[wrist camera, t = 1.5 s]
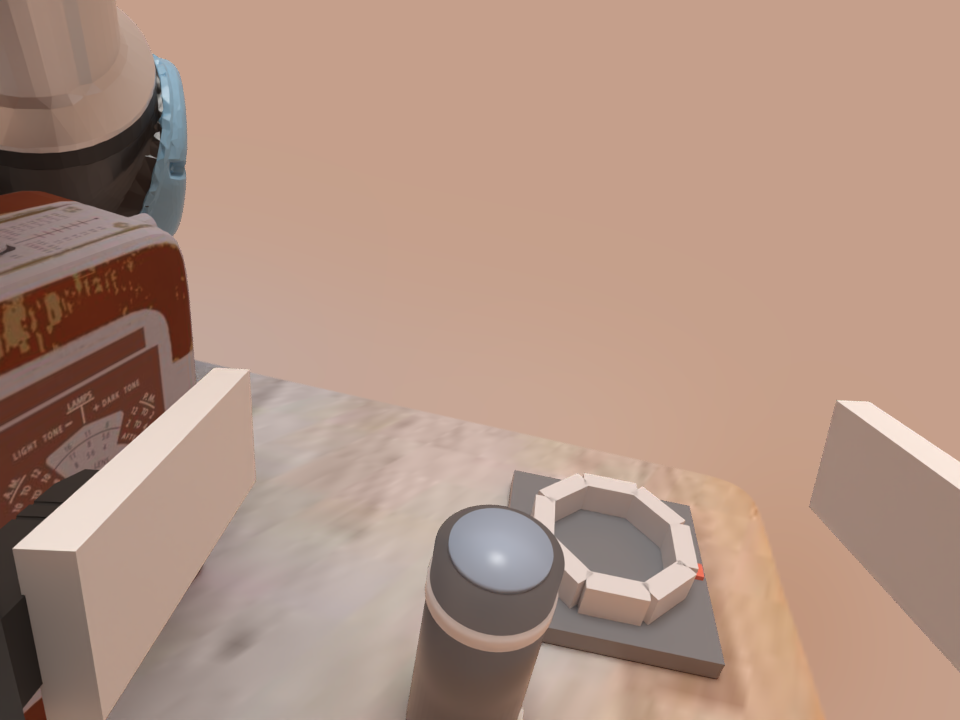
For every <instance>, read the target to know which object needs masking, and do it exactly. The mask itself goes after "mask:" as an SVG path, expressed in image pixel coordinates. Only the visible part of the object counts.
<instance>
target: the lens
mask: <svg viewBox="0 0 960 720" xmlns="http://www.w3.org/2000/svg"><path fill="white" fill-rule="evenodd" d="M564 568H565V560H564V554H563V551H562V548H561V546H560V544H559V542H558V540H557V539H556V537H555V536H554V535H553V533H552V532H551V531H550V530H549V529H548V528H547V527H546V526H545V525H544V524H542V523H541V522H540V521H538V520H537V519H536V518H534V517H532V516H530V515H529V514H526V513H524V512H522V511H519V510H517V509H514V508H510V507H506V506H499V505H479V506H473V507H469V508H466V509H463V510H461V511H459V512H457V513H455V514H453V515H452V516H450V517H449V518H448V519H447V520H446V521H445V522H444V523H443V524H442V526H441V527H440V529H439V531H438V533H437V536H436V540H435V546H434V551H433V557H432V558H431V560H430V563H429V566H428V572H427V578H426V584H425V598H426V599H425V605H424V611H423V617H422V623H421V629H420V635H419V641H418V647H417V653H416V659H415V665H414V671H413V677H412V683H411V689H410V695H409V700H408V706H407V713H406V720H523V713H524V708H521V706H522V703H523V700H524V697H525V694H526V691H527V688H528V684H529V681H530V678H531V675H532V672H533V669H534V665H535V662H536V659H537V656H538V653H539V650H540V647H541V643H542V640H543V637H544V634H545V631H546V630H547V628H548V627H549V625H550V623H551V621H552V617H553V614H554V611H555V608H556V605H557V601H558V590H559V587H560V583H561V580H562V577H563V574H564Z"/></svg>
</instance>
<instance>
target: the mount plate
mask: <svg viewBox="0 0 960 720" xmlns="http://www.w3.org/2000/svg"><path fill="white" fill-rule="evenodd" d="M509 507H510V508H514V509H517V510H519V511H522V512H524V513H526V514H529V515H530V516H532V517H534V518H536V519H537V520H538V521H540V522H541V523H542V524H544V525H545V526H546V527H547V528H548V529H549V530H550V531H551V532H552V533H553V535H554V536H555V537H556V539H557V540H558V542H559V544H560V546H561V548H562V551H563V554H564V560H565V568H564V574H563V577H562V580H561V583H560V587H559V590H558V601H557V605H556V608H555V611H554V614H553V617H552V621H551V623H550V625H549V627H548V628H547V630H546V631H545V634H544V637H543V640H542V642H546V643H550V644H555V645H560V646H564V647H569V648H574V649H579V650H583V651H588V652H593V653H597V654H602V655H607V656H611V657H616V658H621V659H626V660H630V661H635V662H640V663H644V664H649V665H654V666H659V667H663V668H668V669H673V670H677V671H682V672H687V673H692V674H696V675H701V676H706V677H710V678H715V679H717V678H718V676H719V675H720V673H721V671H722V669H723V667H724V666H725V663H724V659H723V654H722V650H721V645H720V641H719V636H718V632H717V627H716V623H715V618H714V614H713V609H712V605H711V601H710V596H709V592H708V587H707V583H706V578H705V574H704V569H703V565H702V560H701V556H700V551H699V547H698V542H697V538H696V534H695V529H694V525H693V520H692V516H691V511H690V507H689V506H687V505H682V504H677V503H672V502H667V501H663V500H659V499H658V498H657V497H655V496H654V495H653V494H652V493H650V492H649V491H648V490H647V489H645V488H644V487H641V488H639V489H637V487H636V483H632V482H627V481H622V480H617V479H613V478H608V477H603V476H598V475H593V474H588V473H584V474H583V477H582V476H580V475H579V474H578V473H577V474H575V475H572V476H570V477H568V478H566V479H563V480H560V479H555V478H550V477H545V476H540V475H536V474H531V473H526V472H521V471H516V470H515V471H514V475H513V479H512V483H511V491H510V499H509Z"/></svg>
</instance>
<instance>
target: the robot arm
mask: <svg viewBox="0 0 960 720" xmlns="http://www.w3.org/2000/svg"><path fill="white" fill-rule="evenodd" d="M186 123H187V122H186V108H185V99H184V92H183V86H182V81H181V78H180V74H179V72H178V70H177V68H176V67H175V66H174V64H172V63H171V62H170V61H168V60H166V59H162V58H158V57H157V56H156V55H154V54H152V52H151V50H150V47H149V45H148V43H147V40H146V38H145V36H144V35H143V33H142V32H141V30H140V29H139V28H138V26H137V25H136V24H135V23H134V22H133V21H132V20H131V18H130V17H129V16H128V15H127V14H126V13H124V12H123V11H122V10H121V9H120V8H119V7H118V6H116V0H0V195H4V194H9V193H14V192H19V191H42V192H46V193H49V194H53V195H56V196H60V197H63V198H66V199H70V200H73V201H76V202H80V203H82V204H85V205H89V206H92V207H96V208H99V209H102V210H105V211H108V212H112V213H115V214H118V215H121V216H125V217H131V216H135V215H138V214H141V213H146V214H148V215H149V216H151V217H152V218H153V219H154V220H155V222H156V224H157V226H158V228H160V229H162V230H163V231H166V232H168V233H169V234H170V235H171V236H173V235H174V234H175V233H176V231H177V229H178V227H179V224H180V221H181V217H182V212H183V207H184V200H185V190H186V172H185V168H184V166H185V164H186V155H187V124H186ZM255 481H256V473H255V456H254V439H253V421H252V404H251V387H250V371H249V369H230V368H213V369H212V370H211V371H210V372H209V373H208V374H207V375H206V376H204V377H203V378H202V379H201V380H200V381H199V382H198V383H197V384H196V385H194V386H193V387H192V388H191V389H190V390H189V391H188V392H187V393H185V394H184V395H183V396H182V397H181V398H180V399H179V400H178V401H177V402H175V403H174V404H173V405H172V406H171V407H170V408H169V409H168V410H166V411H165V412H164V413H163V414H162V415H161V416H160V417H159V418H158V419H156V420H155V421H154V422H153V423H152V424H151V425H150V426H149V427H148V428H146V429H145V430H144V431H143V432H142V433H141V434H140V435H139V436H137V437H136V438H135V439H134V440H133V441H132V442H131V443H130V444H129V445H127V446H126V447H125V448H124V449H123V450H122V451H121V452H120V453H118V454H117V455H116V456H115V457H114V458H113V459H112V460H111V461H110V462H108V463H107V464H106V465H105V466H104V467H103V468H102V469H101V470H92V469H84V470H82V471H80V472H78V473H76V474H74V475H72V476H70V477H67V478H65V479H63V480H61V481H59V482H57V483H55V484H54V485H53V486H51V487H50V488H49V489H48V490H46V491H45V492H44V493H43V494H42V495H40V496H39V497H38V498H37V499H36V500H34V504H33V505H31V504H30V505H28V506H27V507H26V508H25V509H24V510H22V511H21V512H20V513H19V514H18V515H16V519H12V520H10V521H9V522H8V523H7V524H6V525H4V526H3V527H2V528H1V529H0V720H25V717H24V713H23V708H24V707H25V706H26V704H27V703H28V702H29V701H30V699H31V698H32V697H33V695H34V694H35V693H36V692H37V690H38V689H39V688H40V689H41V694H42V699H43V704H44V709H45V714H46V718H47V720H106V718H107V717H108V715H109V713H110V712H111V710H112V709H113V707H114V705H115V704H116V702H117V701H118V699H119V698H120V696H121V694H122V693H123V691H124V690H125V688H126V686H127V685H128V683H129V682H130V680H131V678H132V677H133V675H134V674H135V672H136V671H137V669H138V667H139V666H140V664H141V663H142V661H143V659H144V658H145V656H146V655H147V653H148V651H149V650H150V648H151V647H152V645H153V643H154V642H155V640H156V639H157V637H158V636H159V634H160V632H161V631H162V629H163V628H164V626H165V624H166V623H167V621H168V620H169V618H170V616H171V615H172V613H173V612H174V610H175V608H176V607H177V605H178V604H179V602H180V601H181V599H182V597H183V596H184V594H185V593H186V591H187V589H188V588H189V586H190V585H191V583H192V581H193V580H194V578H195V577H196V575H197V574H198V572H199V570H200V569H201V567H202V566H203V564H204V562H205V561H206V559H207V558H208V556H209V554H210V553H211V551H212V550H213V548H214V546H215V545H216V543H217V542H218V540H219V539H220V537H221V535H222V534H223V532H224V531H225V529H226V527H227V526H228V524H229V523H230V521H231V519H232V518H233V516H234V515H235V513H236V512H237V510H238V508H239V507H240V505H241V504H242V502H243V500H244V499H245V497H246V496H247V494H248V492H249V491H250V489H251V488H252V486H253V484H254V483H255ZM809 507H810V508H811V509H812V510H813V511H814V513H815V514H816V515H817V516H818V517H819V518H820V519H821V520H822V521H823V523H824V524H825V525H826V526H827V527H828V528H829V529H830V530H831V531H832V532H833V533H834V535H835V536H836V537H837V538H838V539H839V540H840V541H841V542H842V543H843V545H844V546H845V547H846V548H847V549H848V550H849V551H850V552H851V553H852V554H853V555H854V557H855V558H856V559H857V560H858V561H859V562H860V563H861V564H862V565H863V566H864V567H865V569H866V570H867V571H868V572H869V573H870V574H871V575H872V576H873V577H874V579H875V580H876V581H877V582H878V583H879V584H880V585H881V586H882V587H883V588H884V590H885V591H886V592H887V593H888V594H889V595H890V596H891V597H892V598H893V599H894V601H896V603H897V604H898V605H899V606H900V607H901V608H902V609H903V610H904V611H905V613H906V614H907V615H908V616H909V617H910V618H911V619H912V620H913V621H914V623H915V624H916V625H917V626H918V627H919V628H920V629H921V630H922V631H923V632H924V634H925V635H926V636H927V637H928V638H929V639H930V640H931V641H932V642H933V643H934V644H935V646H936V647H937V648H938V649H939V650H940V651H941V652H942V653H943V654H944V656H946V658H947V659H948V660H949V661H950V662H951V663H952V664H953V665H954V667H955V668H956V669H957V670H958V671H959V672H960V462H959V461H957V460H956V459H954V458H953V457H951V456H950V455H948V454H947V453H945V452H944V451H942V450H941V449H939V448H938V447H936V446H935V445H933V444H932V443H930V442H929V441H927V440H926V439H924V438H923V437H921V436H920V435H918V434H917V433H915V432H914V431H912V430H911V429H909V428H908V427H906V426H905V425H903V424H902V423H900V422H899V421H897V420H896V419H894V418H893V417H891V416H890V415H888V414H887V413H885V412H884V411H882V410H881V409H879V408H878V407H876V406H875V405H873V404H872V403H871V402H862V401H842V400H836V404H835V407H834V411H833V415H832V419H831V423H830V427H829V431H828V435H827V439H826V443H825V447H824V451H823V455H822V458H821V462H820V467H819V470H818V474H817V478H816V482H815V486H814V490H813V494H812V498H811V501H810V506H809Z"/></svg>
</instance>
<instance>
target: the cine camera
mask: <svg viewBox="0 0 960 720" xmlns="http://www.w3.org/2000/svg"><path fill="white" fill-rule="evenodd" d="M194 385H196V375H195V362H194V350H193V337H192V325H191V312H190V300H189V289H188V281H187V274H186V268H185V264H184V259H183V255H182V253H181V250H180V248H179V245H178V243H177V241H176V240H175V239H174V238H173V237H172V236H171V235H170V234H169V233H168V232H166V231H163V230H162V229H160V228H158V226H157V224H156V222H155V220H154V219H153V218H152V217H151V216H149V215H148V214H146V213H141V214H138V215H135V216H131V217H125V216H121V215H118V214H115V213H112V212H108V211H105V210H102V209H99V208H96V207H92V206H89V205H85V204H82V203H80V202H76V201H73V200H70V199H66V198H63V197H60V196H56V195H53V194H49V193H46V192H42V191H19V192H14V193H9V194H4V195H0V529H1V528H2V527H3V526H4V525H6V524H7V523H8V522H9V521H10V520H12V519H16V515H18V514H19V513H20V512H21V511H22V510H24V509H25V508H26V507H27V506H28V505H30V504H31V505H33V504H34V500H36V499H37V498H38V497H39V496H40V495H42V494H43V493H44V492H45V491H46V490H48V489H49V488H50V487H51V486H53V485H54V484H55V483H57V482H59V481H61V480H63V479H65V478H67V477H70V476H72V475H74V474H76V473H78V472H80V471H82V470H84V469H92V470H101V469H102V468H103V467H104V466H105V465H106V464H107V463H108V462H110V461H111V460H112V459H113V458H114V457H115V456H116V455H117V454H118V453H120V452H121V451H122V450H123V449H124V448H125V447H126V446H127V445H129V444H130V443H131V442H132V441H133V440H134V439H135V438H136V437H137V436H139V435H140V434H141V433H142V432H143V431H144V430H145V429H146V428H148V427H149V426H150V425H151V424H152V423H153V422H154V421H155V420H156V419H158V418H159V417H160V416H161V415H162V414H163V413H164V412H165V411H166V410H168V409H169V408H170V407H171V406H172V405H173V404H174V403H175V402H177V401H178V400H179V399H180V398H181V397H182V396H183V395H184V394H185V393H187V392H188V391H189V390H190V389H191V388H192V387H193V386H194ZM23 713H24V717H25V720H47V718H46V714H45V709H44V704H43V699H42V694H41V689H40V688H39V689H38V690H37V692H36V693H35V694H34V695H33V697H32V698H31V699H30V701H29V702H28V703H27V704H26V706H25V707H24V708H23Z"/></svg>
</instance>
